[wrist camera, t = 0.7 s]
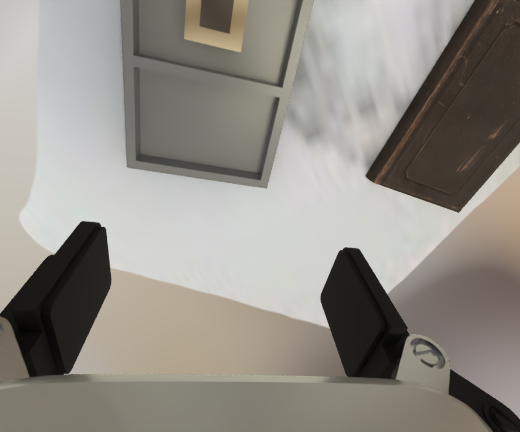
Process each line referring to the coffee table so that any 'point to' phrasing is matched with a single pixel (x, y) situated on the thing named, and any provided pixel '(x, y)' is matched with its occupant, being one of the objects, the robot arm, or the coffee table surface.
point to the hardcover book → (460, 113)
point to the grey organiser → (208, 90)
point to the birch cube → (216, 22)
